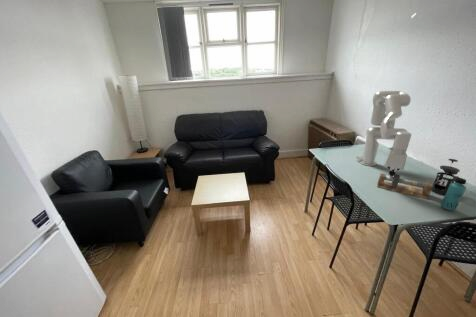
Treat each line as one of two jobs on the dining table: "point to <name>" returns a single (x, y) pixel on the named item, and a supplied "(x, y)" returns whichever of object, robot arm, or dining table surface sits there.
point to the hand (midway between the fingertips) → (391, 175)
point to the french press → (444, 184)
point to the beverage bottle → (454, 194)
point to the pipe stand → (405, 189)
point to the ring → (396, 180)
